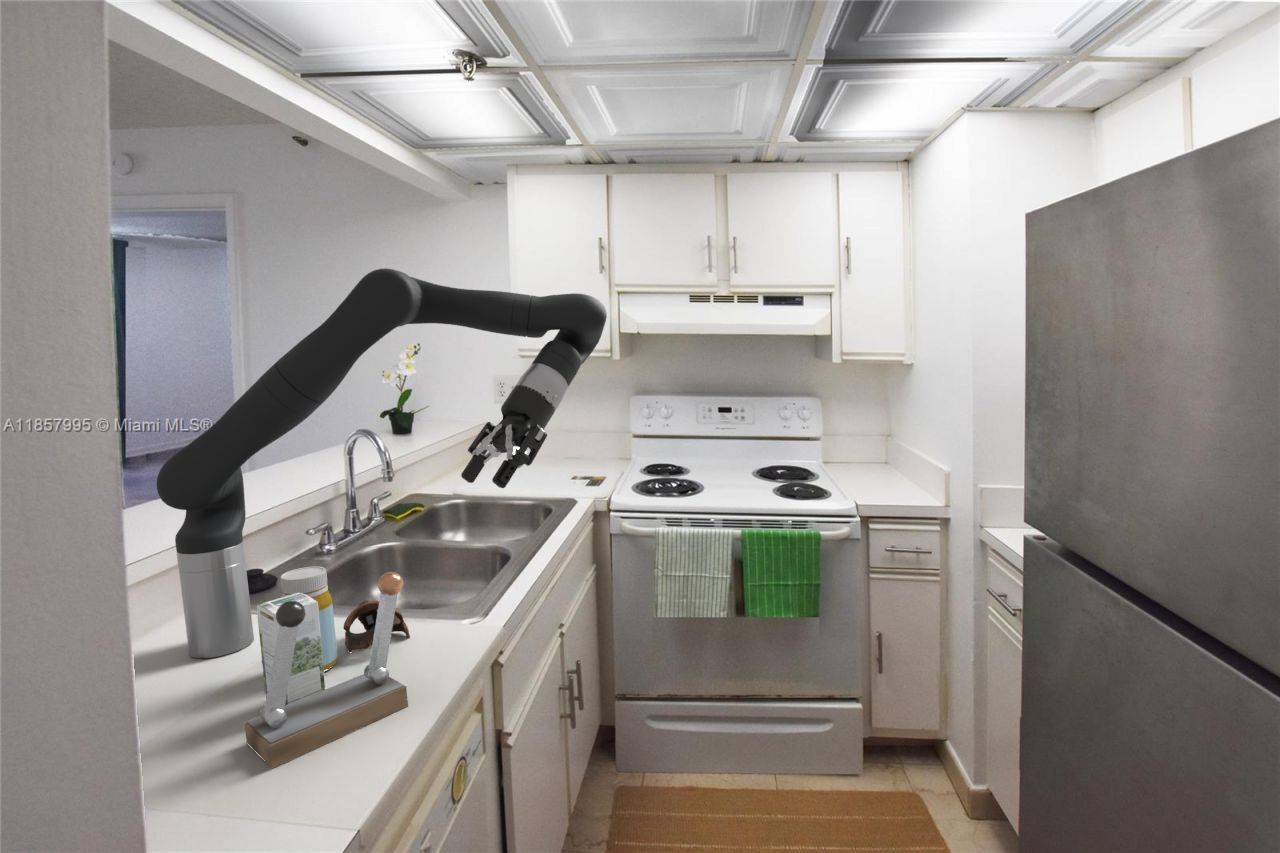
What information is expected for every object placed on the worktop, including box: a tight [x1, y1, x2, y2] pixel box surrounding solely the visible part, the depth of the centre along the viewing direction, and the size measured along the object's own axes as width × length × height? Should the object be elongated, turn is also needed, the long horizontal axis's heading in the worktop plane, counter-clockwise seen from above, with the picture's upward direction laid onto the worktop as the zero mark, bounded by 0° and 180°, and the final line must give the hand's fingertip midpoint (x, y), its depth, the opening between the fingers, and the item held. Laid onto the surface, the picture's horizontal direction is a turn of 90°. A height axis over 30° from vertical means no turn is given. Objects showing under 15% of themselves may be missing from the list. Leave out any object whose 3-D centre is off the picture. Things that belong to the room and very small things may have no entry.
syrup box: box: [256, 593, 326, 705], centre depth 91 cm, size 6×6×14 cm
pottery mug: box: [342, 600, 411, 653], centre depth 110 cm, size 12×10×8 cm
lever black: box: [259, 601, 305, 728], centre depth 81 cm, size 3×3×15 cm
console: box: [244, 673, 409, 769], centre depth 85 cm, size 8×17×3 cm, turn 139°
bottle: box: [280, 566, 338, 670], centre depth 101 cm, size 7×7×15 cm
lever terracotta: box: [363, 571, 404, 685], centre depth 91 cm, size 3×3×15 cm
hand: (481, 482), depth 100 cm, fingers open, 8 cm apart
